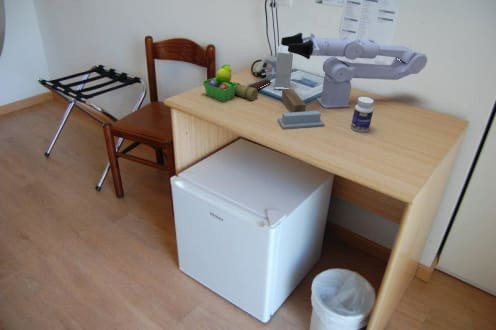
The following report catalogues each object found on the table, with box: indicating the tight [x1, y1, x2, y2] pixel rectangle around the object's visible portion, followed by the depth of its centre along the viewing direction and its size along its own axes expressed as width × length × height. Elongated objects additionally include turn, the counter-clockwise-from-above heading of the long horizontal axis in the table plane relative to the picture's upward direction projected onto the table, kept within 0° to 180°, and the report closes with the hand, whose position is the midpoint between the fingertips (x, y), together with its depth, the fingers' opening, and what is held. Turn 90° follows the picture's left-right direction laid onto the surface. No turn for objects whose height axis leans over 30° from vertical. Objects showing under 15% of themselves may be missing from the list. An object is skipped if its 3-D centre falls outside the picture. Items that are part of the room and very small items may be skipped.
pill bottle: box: [350, 96, 374, 133], centre depth 127 cm, size 6×6×10 cm
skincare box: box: [273, 45, 294, 89], centre depth 154 cm, size 8×6×15 cm
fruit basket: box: [202, 63, 238, 102], centre depth 145 cm, size 11×9×11 cm
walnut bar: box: [281, 88, 307, 113], centre depth 140 cm, size 4×14×4 cm, turn 12°
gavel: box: [232, 78, 271, 102], centre depth 154 cm, size 21×5×10 cm
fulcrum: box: [277, 110, 326, 130], centre depth 130 cm, size 14×6×4 cm, turn 102°
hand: (284, 44), depth 131 cm, fingers open, 7 cm apart
